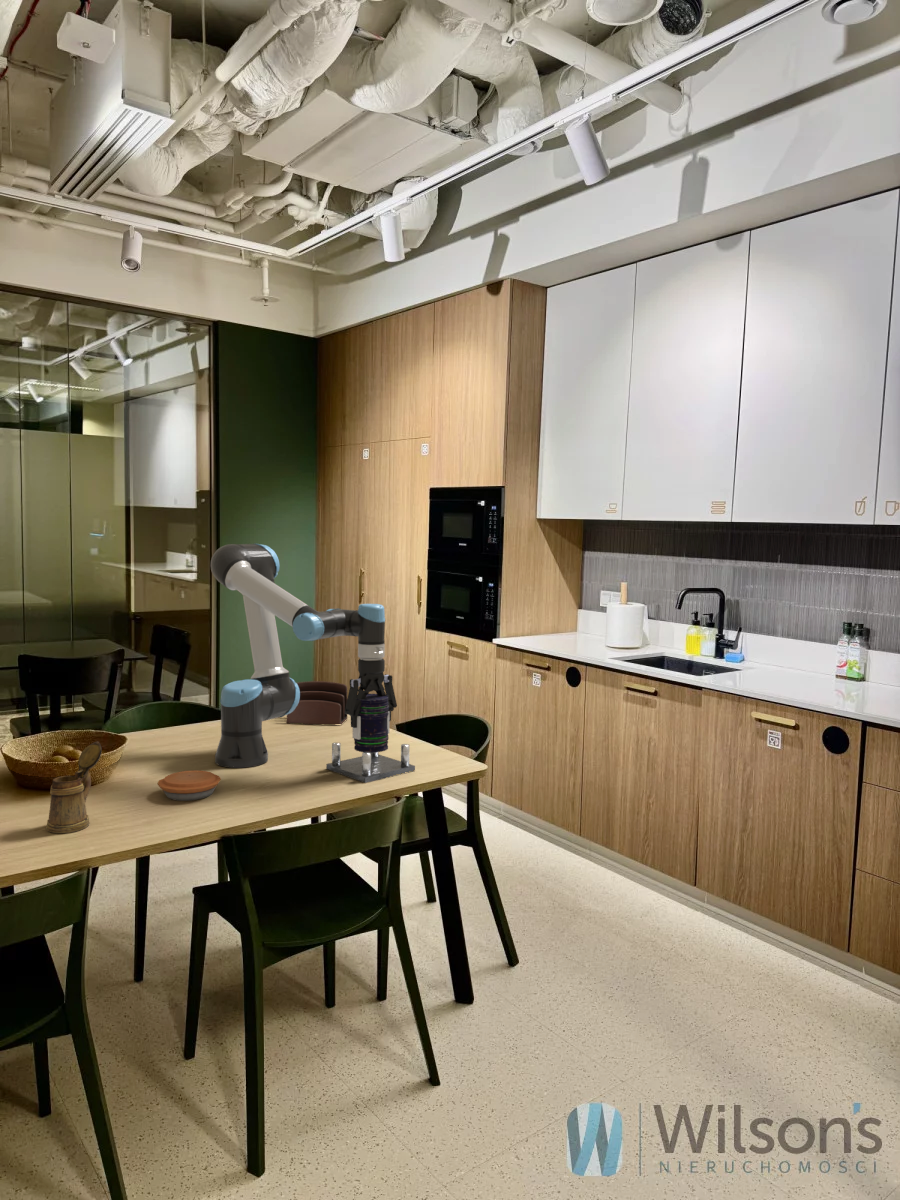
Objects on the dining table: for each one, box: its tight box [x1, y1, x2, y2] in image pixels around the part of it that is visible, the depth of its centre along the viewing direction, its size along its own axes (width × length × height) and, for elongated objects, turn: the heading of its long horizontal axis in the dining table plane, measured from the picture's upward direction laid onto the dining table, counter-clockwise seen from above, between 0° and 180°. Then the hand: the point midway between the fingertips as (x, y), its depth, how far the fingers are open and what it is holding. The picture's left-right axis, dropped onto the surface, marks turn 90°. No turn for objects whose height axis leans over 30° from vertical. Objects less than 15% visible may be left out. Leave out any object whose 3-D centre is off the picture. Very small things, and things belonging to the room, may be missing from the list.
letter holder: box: [286, 680, 348, 725], centre depth 304 cm, size 10×20×14 cm, turn 83°
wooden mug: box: [45, 740, 103, 834], centre depth 195 cm, size 9×14×18 cm, turn 153°
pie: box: [157, 770, 222, 802], centre depth 219 cm, size 15×16×5 cm
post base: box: [325, 742, 416, 784], centre depth 243 cm, size 18×18×8 cm
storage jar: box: [353, 693, 389, 753], centre depth 242 cm, size 10×10×15 cm
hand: (371, 735), depth 243 cm, fingers closed on storage jar, 10 cm apart
